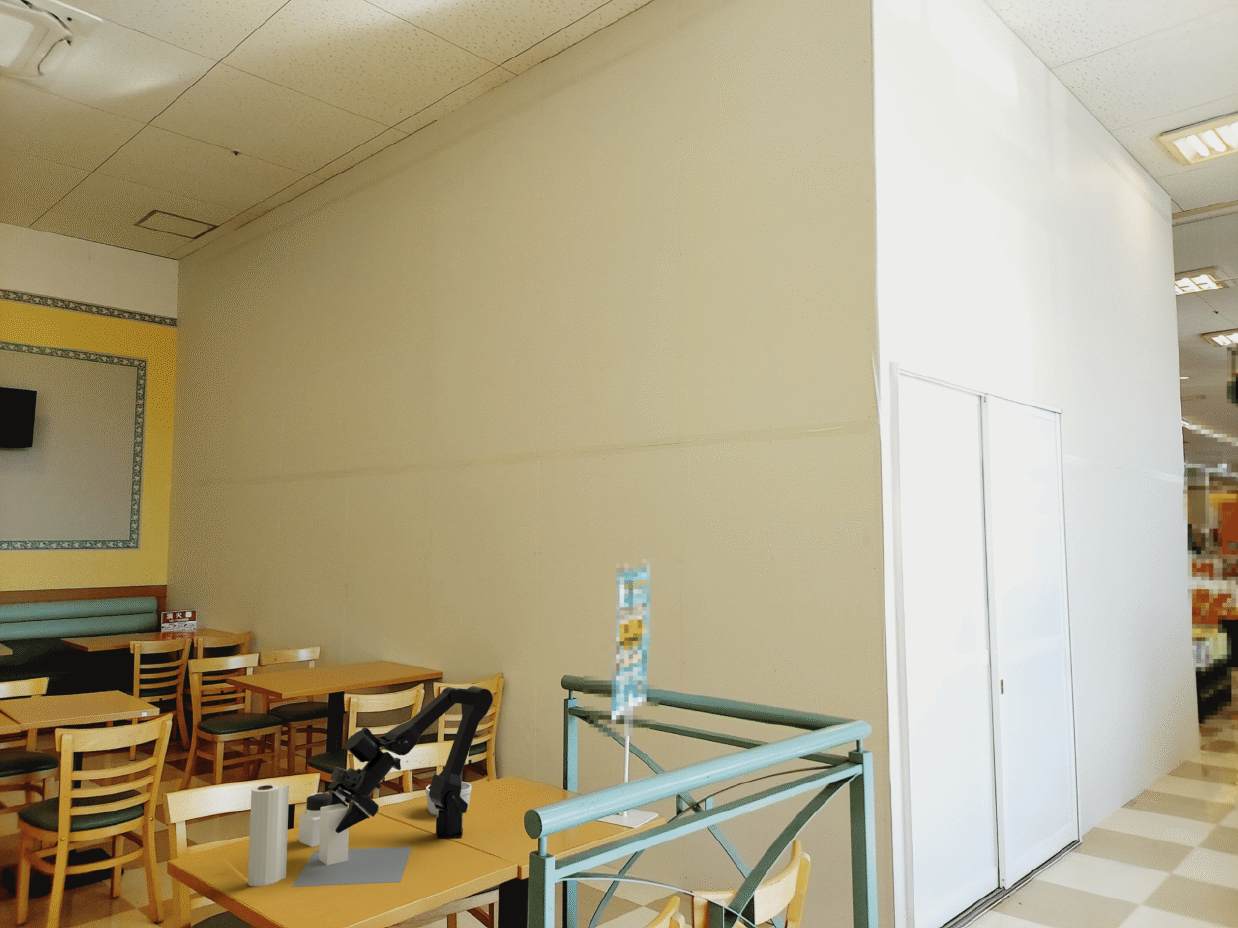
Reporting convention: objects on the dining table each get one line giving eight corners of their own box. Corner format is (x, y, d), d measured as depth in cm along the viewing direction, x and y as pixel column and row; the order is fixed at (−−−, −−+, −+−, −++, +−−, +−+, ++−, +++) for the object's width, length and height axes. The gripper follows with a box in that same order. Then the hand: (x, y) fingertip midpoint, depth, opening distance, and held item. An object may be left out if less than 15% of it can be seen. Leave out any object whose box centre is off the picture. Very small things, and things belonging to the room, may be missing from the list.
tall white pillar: (339, 854, 221) (340, 803, 222) (347, 860, 217) (349, 807, 218) (318, 859, 218) (320, 807, 219) (327, 865, 214) (328, 811, 215)
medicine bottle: (337, 841, 232) (338, 794, 233) (311, 848, 227) (313, 799, 228) (323, 835, 237) (324, 789, 238) (297, 842, 232) (299, 794, 233)
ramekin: (426, 805, 265) (426, 781, 265) (470, 803, 267) (471, 779, 268) (424, 818, 252) (425, 793, 252) (471, 816, 254) (472, 791, 255)
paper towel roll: (242, 886, 201) (245, 789, 203) (257, 877, 207) (261, 782, 209) (271, 889, 200) (274, 791, 202) (285, 879, 206) (289, 784, 208)
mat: (411, 848, 227) (411, 846, 227) (400, 883, 203) (400, 881, 203) (314, 851, 224) (314, 850, 224) (291, 888, 200) (291, 886, 200)
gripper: (336, 747, 229) (292, 799, 221) (367, 760, 215) (321, 816, 207) (365, 773, 233) (322, 825, 225) (397, 788, 219) (353, 844, 211)
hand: (329, 827), depth 217 cm, fingers open, 9 cm apart
